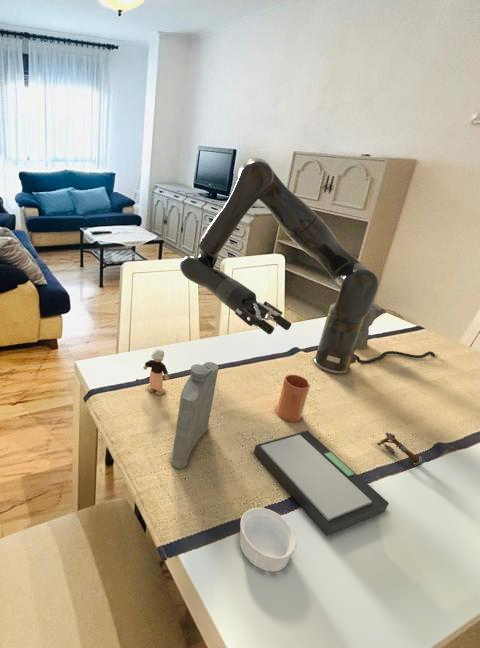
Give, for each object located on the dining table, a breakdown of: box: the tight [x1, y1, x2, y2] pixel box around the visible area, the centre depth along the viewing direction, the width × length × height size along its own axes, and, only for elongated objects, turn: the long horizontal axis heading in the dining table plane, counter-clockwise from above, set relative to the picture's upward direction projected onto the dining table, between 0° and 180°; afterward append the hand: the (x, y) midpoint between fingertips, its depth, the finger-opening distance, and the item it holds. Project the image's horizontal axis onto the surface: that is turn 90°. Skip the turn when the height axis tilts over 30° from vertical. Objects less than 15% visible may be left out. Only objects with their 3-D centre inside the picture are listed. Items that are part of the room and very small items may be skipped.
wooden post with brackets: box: [376, 431, 423, 467], centre depth 87 cm, size 2×8×4 cm, turn 48°
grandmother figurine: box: [143, 348, 170, 396], centre depth 102 cm, size 8×4×13 cm, turn 65°
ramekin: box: [239, 507, 297, 573], centre depth 65 cm, size 9×9×4 cm
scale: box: [253, 430, 390, 537], centre depth 79 cm, size 15×20×3 cm
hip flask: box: [170, 361, 220, 470], centre depth 83 cm, size 16×4×20 cm, turn 148°
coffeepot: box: [334, 298, 387, 350], centre depth 133 cm, size 15×9×18 cm, turn 44°
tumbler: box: [276, 374, 311, 423], centre depth 97 cm, size 6×6×10 cm
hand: (281, 329), depth 100 cm, fingers open, 8 cm apart
